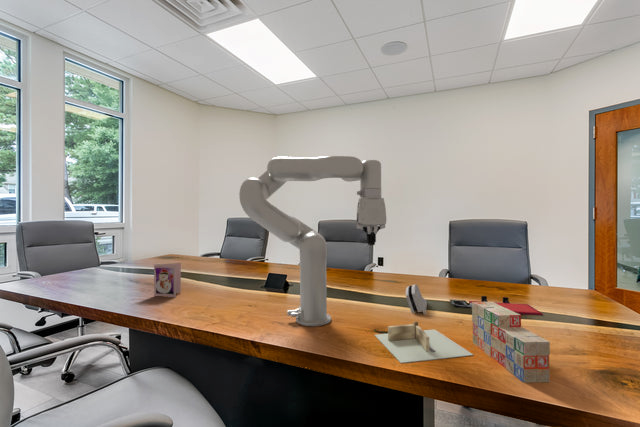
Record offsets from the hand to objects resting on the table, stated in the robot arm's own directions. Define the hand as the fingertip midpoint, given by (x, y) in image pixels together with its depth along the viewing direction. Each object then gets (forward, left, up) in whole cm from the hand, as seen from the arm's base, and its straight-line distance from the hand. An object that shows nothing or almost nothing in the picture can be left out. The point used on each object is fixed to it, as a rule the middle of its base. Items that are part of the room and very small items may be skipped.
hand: (371, 244), depth 108 cm
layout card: (+6, -23, -27) cm, 36 cm away
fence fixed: (+3, -19, -27) cm, 33 cm away
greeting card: (-83, +51, -27) cm, 101 cm away
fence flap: (+6, -24, -26) cm, 36 cm away
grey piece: (+23, +9, -28) cm, 37 cm away
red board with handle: (+53, +3, -28) cm, 60 cm away
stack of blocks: (+23, -36, -28) cm, 51 cm away
